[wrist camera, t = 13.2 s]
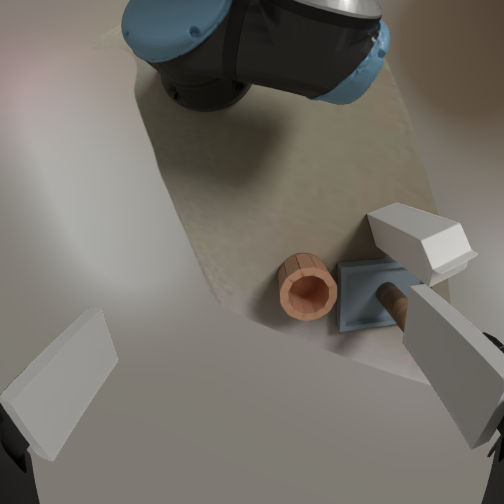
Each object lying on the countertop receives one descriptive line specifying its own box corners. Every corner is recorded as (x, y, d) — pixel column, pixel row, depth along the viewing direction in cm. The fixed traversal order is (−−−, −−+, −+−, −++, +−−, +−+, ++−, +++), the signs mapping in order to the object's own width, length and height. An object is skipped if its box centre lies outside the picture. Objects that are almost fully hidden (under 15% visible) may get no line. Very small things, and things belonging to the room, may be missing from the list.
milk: (404, 233, 47) (481, 278, 26) (374, 246, 48) (442, 300, 27) (395, 201, 45) (476, 228, 24) (365, 212, 46) (435, 249, 25)
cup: (276, 255, 49) (278, 270, 42) (326, 250, 48) (336, 265, 41) (279, 301, 51) (281, 322, 44) (327, 297, 50) (336, 317, 43)
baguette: (376, 283, 48) (410, 321, 35) (396, 280, 48) (434, 316, 34) (375, 303, 49) (406, 345, 36) (395, 301, 49) (429, 340, 36)
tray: (337, 262, 49) (341, 268, 46) (427, 253, 48) (434, 258, 45) (336, 324, 52) (339, 332, 49) (421, 311, 51) (427, 318, 48)
